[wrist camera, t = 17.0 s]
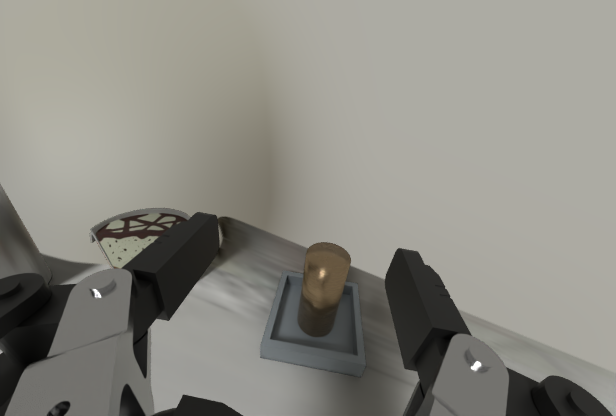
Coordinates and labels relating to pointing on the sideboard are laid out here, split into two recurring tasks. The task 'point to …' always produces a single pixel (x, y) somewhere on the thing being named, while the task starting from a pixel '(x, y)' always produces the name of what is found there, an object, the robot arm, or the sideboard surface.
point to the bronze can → (322, 288)
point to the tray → (314, 350)
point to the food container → (133, 232)
